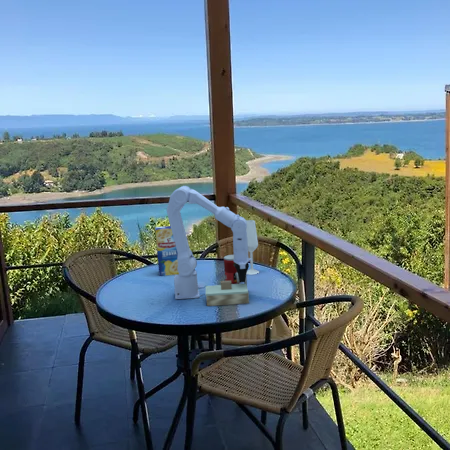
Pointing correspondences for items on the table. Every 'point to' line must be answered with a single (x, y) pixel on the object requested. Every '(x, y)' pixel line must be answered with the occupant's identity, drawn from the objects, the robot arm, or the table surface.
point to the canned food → (230, 269)
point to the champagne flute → (251, 243)
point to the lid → (226, 289)
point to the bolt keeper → (238, 279)
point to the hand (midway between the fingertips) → (242, 281)
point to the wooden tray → (227, 299)
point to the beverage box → (166, 251)
